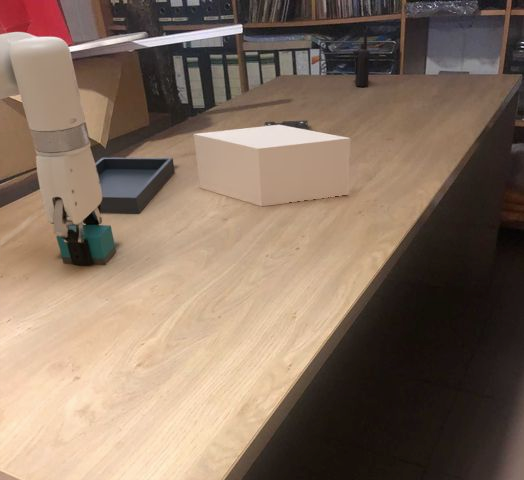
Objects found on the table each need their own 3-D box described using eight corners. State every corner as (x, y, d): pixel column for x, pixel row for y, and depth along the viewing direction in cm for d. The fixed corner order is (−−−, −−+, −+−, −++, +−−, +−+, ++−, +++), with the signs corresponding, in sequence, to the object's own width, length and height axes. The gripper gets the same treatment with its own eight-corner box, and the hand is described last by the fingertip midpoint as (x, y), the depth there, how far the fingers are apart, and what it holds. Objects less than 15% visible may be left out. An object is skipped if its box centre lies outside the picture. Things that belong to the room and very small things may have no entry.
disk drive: (264, 134, 143) (262, 152, 131) (264, 121, 142) (261, 139, 130) (307, 132, 143) (309, 150, 131) (307, 119, 141) (309, 137, 129)
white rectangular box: (342, 210, 103) (343, 151, 97) (186, 202, 110) (178, 146, 104) (354, 181, 114) (356, 126, 108) (212, 175, 121) (206, 123, 115)
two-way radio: (369, 87, 176) (372, 30, 167) (354, 88, 176) (356, 31, 167) (364, 83, 181) (366, 27, 172) (350, 84, 180) (351, 29, 172)
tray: (139, 213, 107) (136, 197, 105) (59, 211, 110) (54, 196, 108) (174, 172, 124) (172, 157, 122) (104, 171, 127) (101, 157, 125)
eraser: (63, 263, 92) (55, 236, 90) (75, 250, 96) (69, 224, 93) (105, 264, 91) (99, 237, 88) (116, 251, 95) (110, 225, 92)
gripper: (63, 121, 90) (90, 232, 101) (4, 157, 77) (42, 281, 87) (109, 121, 89) (131, 234, 99) (58, 157, 75) (90, 284, 86)
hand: (89, 255), depth 93 cm, fingers closed on eraser, 4 cm apart
